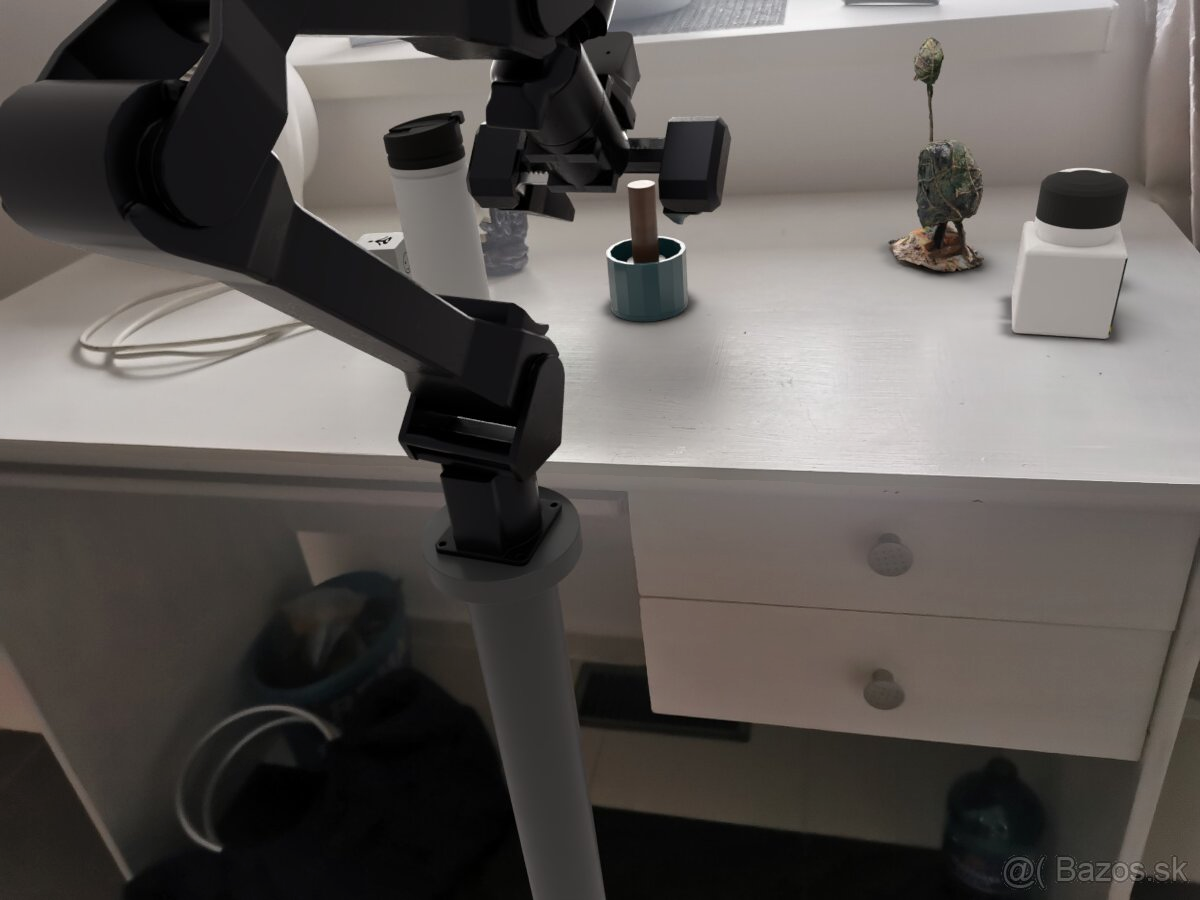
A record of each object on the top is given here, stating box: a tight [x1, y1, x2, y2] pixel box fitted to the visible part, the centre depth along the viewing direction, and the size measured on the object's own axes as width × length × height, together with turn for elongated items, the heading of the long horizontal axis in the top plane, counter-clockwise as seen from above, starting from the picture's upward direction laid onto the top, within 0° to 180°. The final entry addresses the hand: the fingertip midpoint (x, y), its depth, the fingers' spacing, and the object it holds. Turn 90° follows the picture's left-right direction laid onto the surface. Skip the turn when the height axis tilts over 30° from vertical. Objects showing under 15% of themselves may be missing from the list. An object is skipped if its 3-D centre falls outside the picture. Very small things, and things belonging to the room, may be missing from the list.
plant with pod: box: [887, 36, 985, 273], centre depth 83 cm, size 8×11×20 cm
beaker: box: [605, 235, 689, 323], centre depth 84 cm, size 7×7×6 cm
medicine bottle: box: [1011, 167, 1130, 340], centre depth 72 cm, size 7×7×12 cm
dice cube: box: [355, 231, 412, 279], centre depth 94 cm, size 5×5×5 cm
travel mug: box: [382, 109, 491, 300], centre depth 76 cm, size 6×7×20 cm
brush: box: [627, 179, 666, 263], centre depth 82 cm, size 4×4×11 cm
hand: (626, 217), depth 73 cm, fingers open, 9 cm apart
